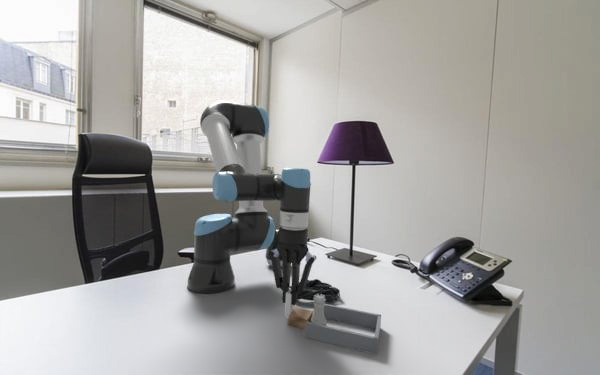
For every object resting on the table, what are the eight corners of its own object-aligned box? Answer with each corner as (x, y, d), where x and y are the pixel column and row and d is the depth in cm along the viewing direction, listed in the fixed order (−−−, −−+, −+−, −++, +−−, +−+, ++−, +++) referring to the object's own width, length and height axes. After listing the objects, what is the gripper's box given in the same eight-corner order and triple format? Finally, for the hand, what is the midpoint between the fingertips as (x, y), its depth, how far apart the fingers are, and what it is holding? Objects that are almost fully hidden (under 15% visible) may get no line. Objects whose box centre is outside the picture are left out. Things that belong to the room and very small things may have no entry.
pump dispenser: (262, 262, 125) (264, 226, 124) (286, 261, 128) (287, 226, 127) (267, 270, 115) (268, 232, 114) (292, 269, 118) (294, 231, 117)
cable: (286, 306, 87) (287, 291, 87) (282, 287, 101) (283, 274, 100) (343, 305, 89) (343, 291, 89) (331, 286, 103) (332, 274, 103)
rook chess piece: (315, 319, 79) (317, 290, 78) (330, 325, 76) (331, 295, 76) (306, 326, 75) (307, 296, 75) (320, 332, 73) (322, 301, 72)
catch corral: (304, 337, 70) (305, 323, 70) (318, 314, 82) (318, 302, 82) (376, 354, 65) (378, 339, 65) (380, 327, 76) (381, 314, 76)
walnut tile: (288, 324, 76) (288, 315, 75) (295, 316, 80) (295, 307, 80) (306, 329, 74) (307, 319, 74) (312, 320, 79) (313, 311, 79)
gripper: (264, 226, 75) (260, 316, 76) (313, 232, 71) (308, 327, 72) (276, 222, 82) (272, 304, 83) (321, 227, 78) (316, 314, 79)
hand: (289, 315), depth 78 cm, fingers closed
